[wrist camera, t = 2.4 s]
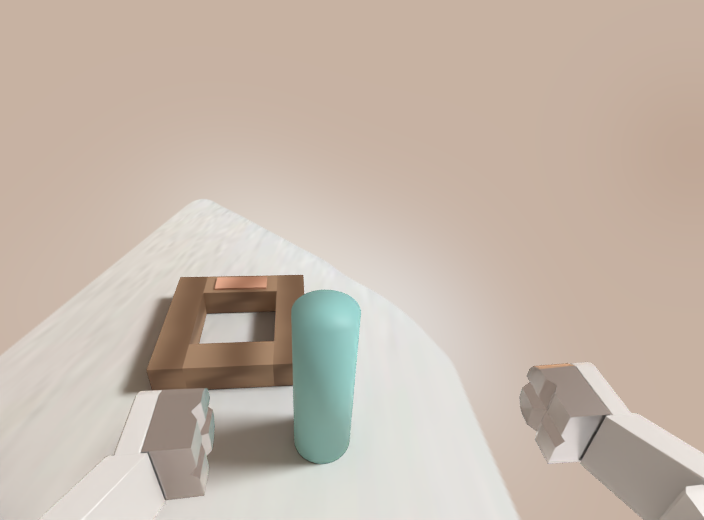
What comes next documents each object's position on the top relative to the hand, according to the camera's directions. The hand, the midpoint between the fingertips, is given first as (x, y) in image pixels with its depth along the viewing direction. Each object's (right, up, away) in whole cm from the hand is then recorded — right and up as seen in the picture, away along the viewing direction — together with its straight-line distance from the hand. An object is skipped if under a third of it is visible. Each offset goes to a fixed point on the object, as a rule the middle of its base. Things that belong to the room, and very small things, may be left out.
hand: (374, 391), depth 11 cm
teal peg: (-3, -10, +21) cm, 23 cm away
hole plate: (-11, -4, +29) cm, 31 cm away
